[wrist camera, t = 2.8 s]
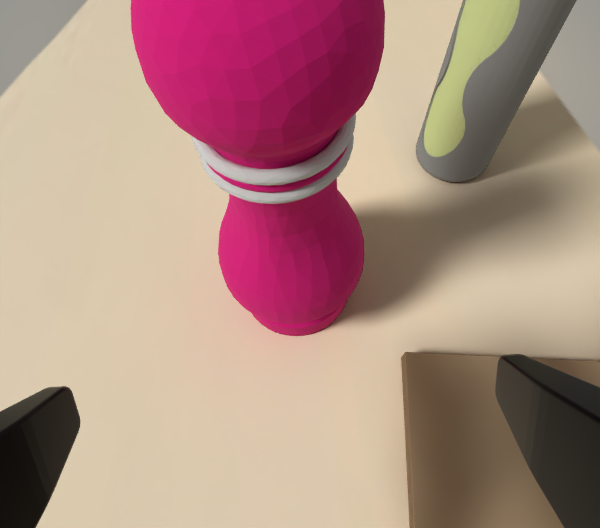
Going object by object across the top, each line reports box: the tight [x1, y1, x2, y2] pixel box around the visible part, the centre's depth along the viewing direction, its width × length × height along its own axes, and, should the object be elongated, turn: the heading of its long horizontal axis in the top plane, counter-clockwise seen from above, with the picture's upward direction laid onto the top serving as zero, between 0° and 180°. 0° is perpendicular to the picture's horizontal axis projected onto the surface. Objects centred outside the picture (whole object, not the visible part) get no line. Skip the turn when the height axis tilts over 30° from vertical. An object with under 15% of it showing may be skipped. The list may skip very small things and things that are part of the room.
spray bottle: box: [416, 0, 576, 182], centre depth 19 cm, size 5×5×20 cm
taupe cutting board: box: [401, 352, 600, 528], centre depth 18 cm, size 14×14×1 cm
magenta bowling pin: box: [131, 0, 385, 336], centre depth 15 cm, size 7×7×20 cm
